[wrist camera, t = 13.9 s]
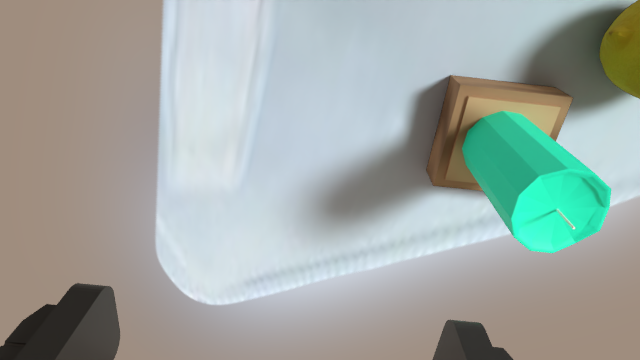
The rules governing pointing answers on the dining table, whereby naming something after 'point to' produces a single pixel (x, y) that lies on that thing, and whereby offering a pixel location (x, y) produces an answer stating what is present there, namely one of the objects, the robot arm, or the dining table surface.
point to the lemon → (623, 50)
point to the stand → (479, 101)
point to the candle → (535, 182)
